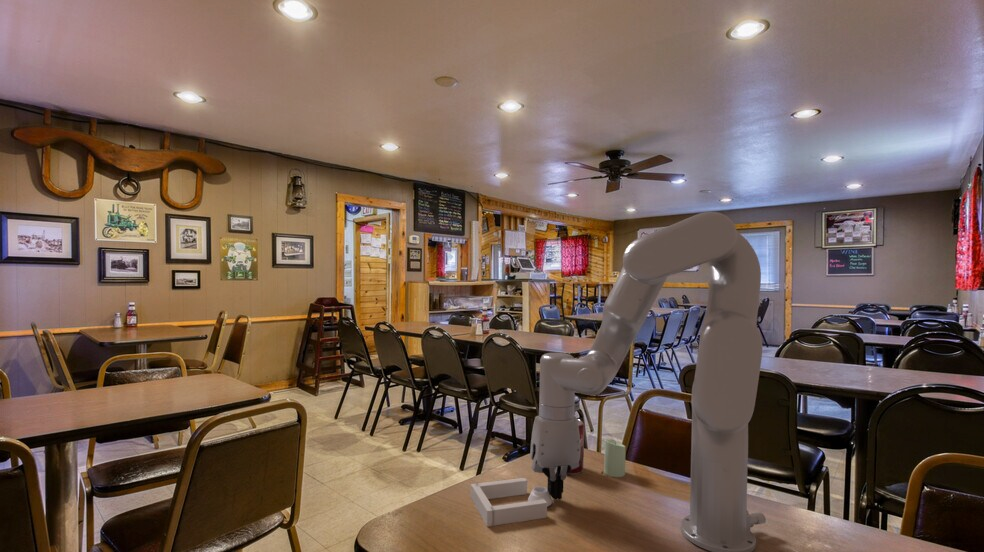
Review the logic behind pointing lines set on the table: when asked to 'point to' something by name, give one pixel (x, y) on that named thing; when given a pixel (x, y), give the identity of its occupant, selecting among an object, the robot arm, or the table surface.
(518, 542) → the table surface
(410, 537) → the table surface
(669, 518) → the table surface
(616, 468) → the candle
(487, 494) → the bay
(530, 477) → the table surface
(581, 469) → the soda can
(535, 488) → the white jar
